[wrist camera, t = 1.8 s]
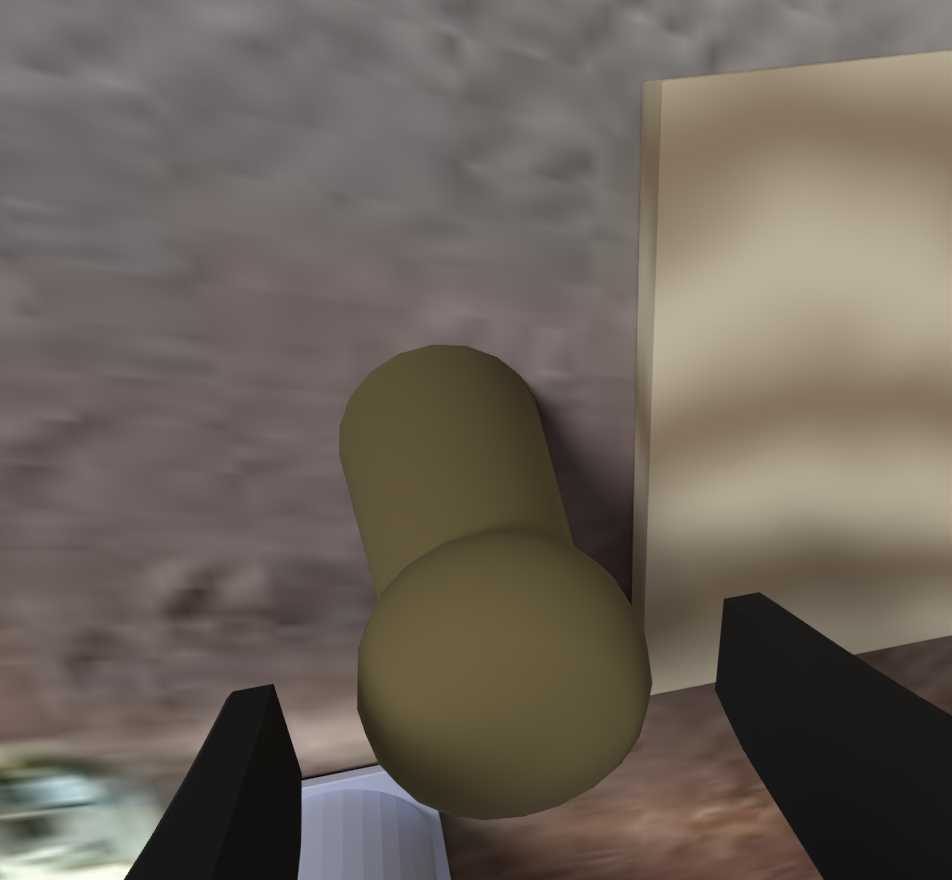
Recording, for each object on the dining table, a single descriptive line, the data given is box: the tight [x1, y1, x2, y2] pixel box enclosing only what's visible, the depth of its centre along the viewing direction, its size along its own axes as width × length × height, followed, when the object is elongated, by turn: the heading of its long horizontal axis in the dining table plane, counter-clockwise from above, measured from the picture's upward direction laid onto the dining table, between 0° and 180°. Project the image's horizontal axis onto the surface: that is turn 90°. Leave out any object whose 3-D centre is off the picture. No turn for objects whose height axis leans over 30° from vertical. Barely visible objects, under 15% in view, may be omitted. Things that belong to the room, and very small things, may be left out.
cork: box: [340, 345, 652, 820], centre depth 16 cm, size 6×6×11 cm
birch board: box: [632, 50, 952, 695], centre depth 22 cm, size 20×14×1 cm
